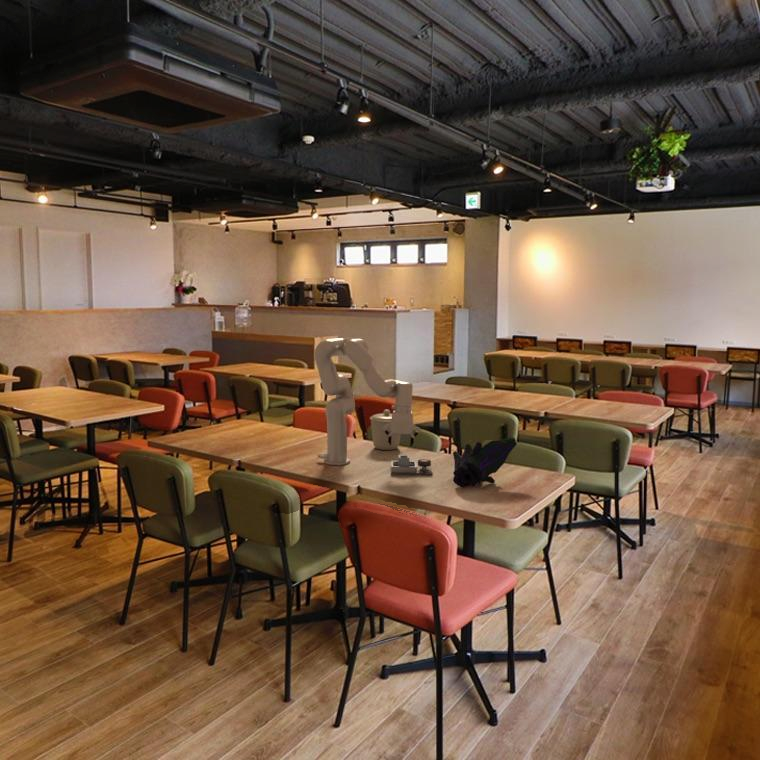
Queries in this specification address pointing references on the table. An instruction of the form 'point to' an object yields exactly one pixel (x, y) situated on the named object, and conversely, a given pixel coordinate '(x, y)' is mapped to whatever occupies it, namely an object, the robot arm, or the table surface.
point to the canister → (379, 434)
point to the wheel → (424, 462)
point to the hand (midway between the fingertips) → (400, 445)
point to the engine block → (403, 460)
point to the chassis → (410, 469)
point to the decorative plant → (481, 461)
